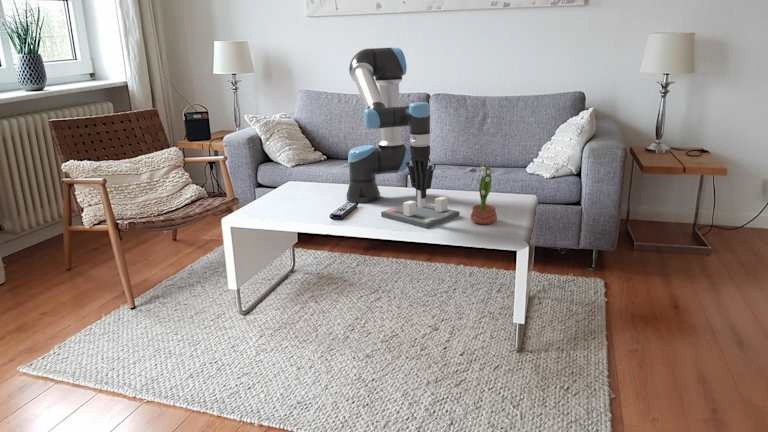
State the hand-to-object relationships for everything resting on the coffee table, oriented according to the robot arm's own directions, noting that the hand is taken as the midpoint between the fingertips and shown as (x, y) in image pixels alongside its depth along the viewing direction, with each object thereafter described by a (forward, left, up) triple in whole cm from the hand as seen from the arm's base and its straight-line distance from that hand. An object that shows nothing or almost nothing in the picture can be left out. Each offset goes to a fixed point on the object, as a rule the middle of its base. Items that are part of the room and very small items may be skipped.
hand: (421, 206), depth 222 cm
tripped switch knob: (-6, 0, -5) cm, 8 cm away
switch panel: (-6, +6, -7) cm, 11 cm away
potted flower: (+18, +16, -7) cm, 25 cm away
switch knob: (0, +12, -5) cm, 13 cm away
